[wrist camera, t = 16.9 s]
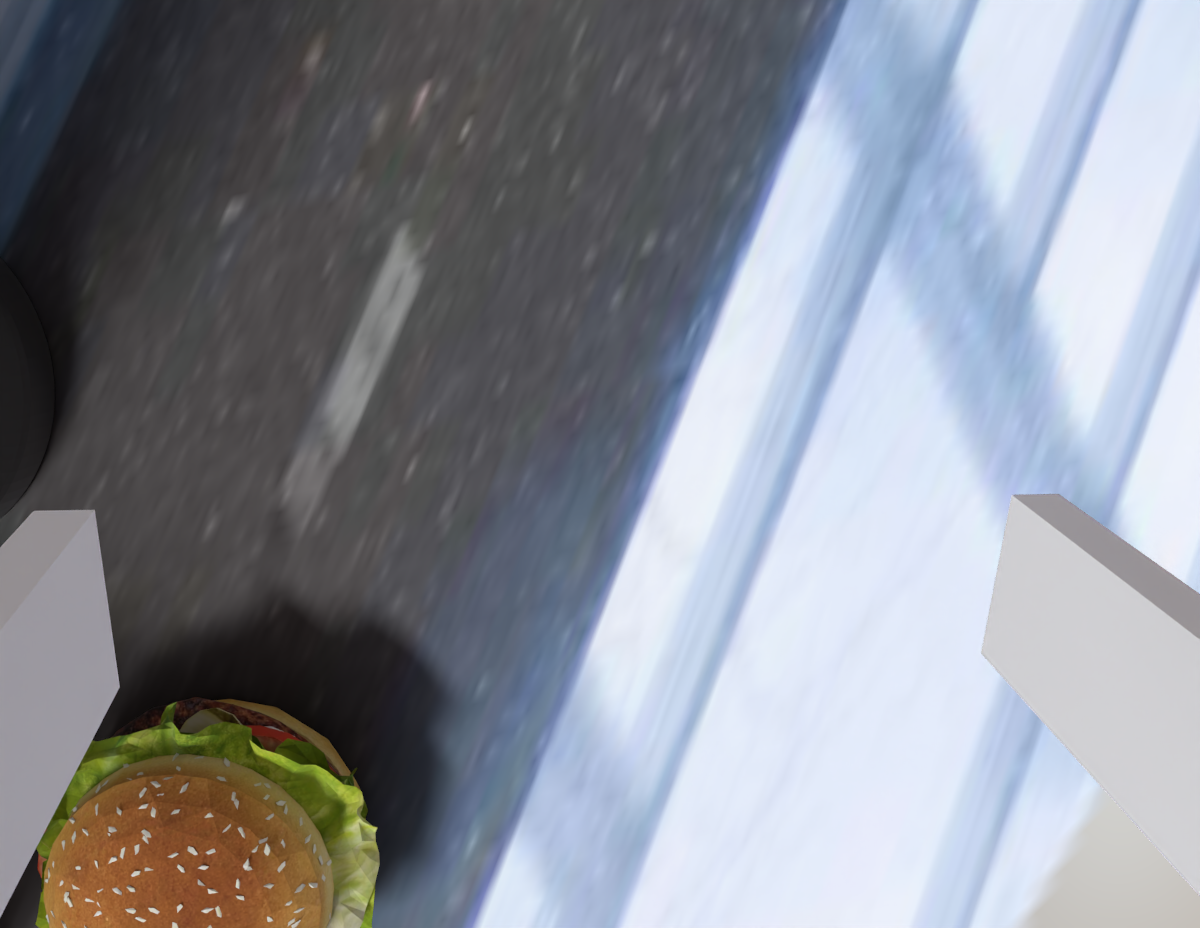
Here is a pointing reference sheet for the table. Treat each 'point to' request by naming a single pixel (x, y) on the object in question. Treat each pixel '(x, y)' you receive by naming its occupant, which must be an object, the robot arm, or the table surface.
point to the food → (210, 827)
